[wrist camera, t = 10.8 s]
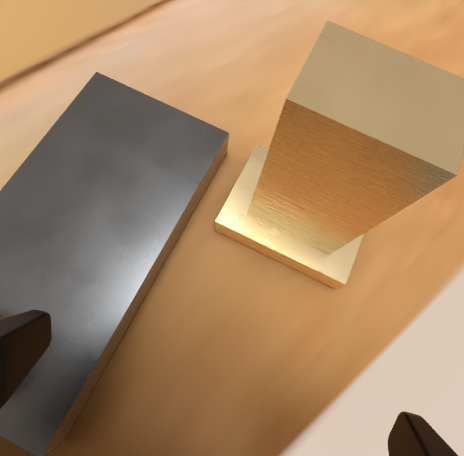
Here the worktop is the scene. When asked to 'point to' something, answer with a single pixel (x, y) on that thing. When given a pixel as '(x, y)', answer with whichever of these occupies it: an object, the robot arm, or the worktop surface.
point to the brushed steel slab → (94, 239)
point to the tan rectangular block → (346, 154)
